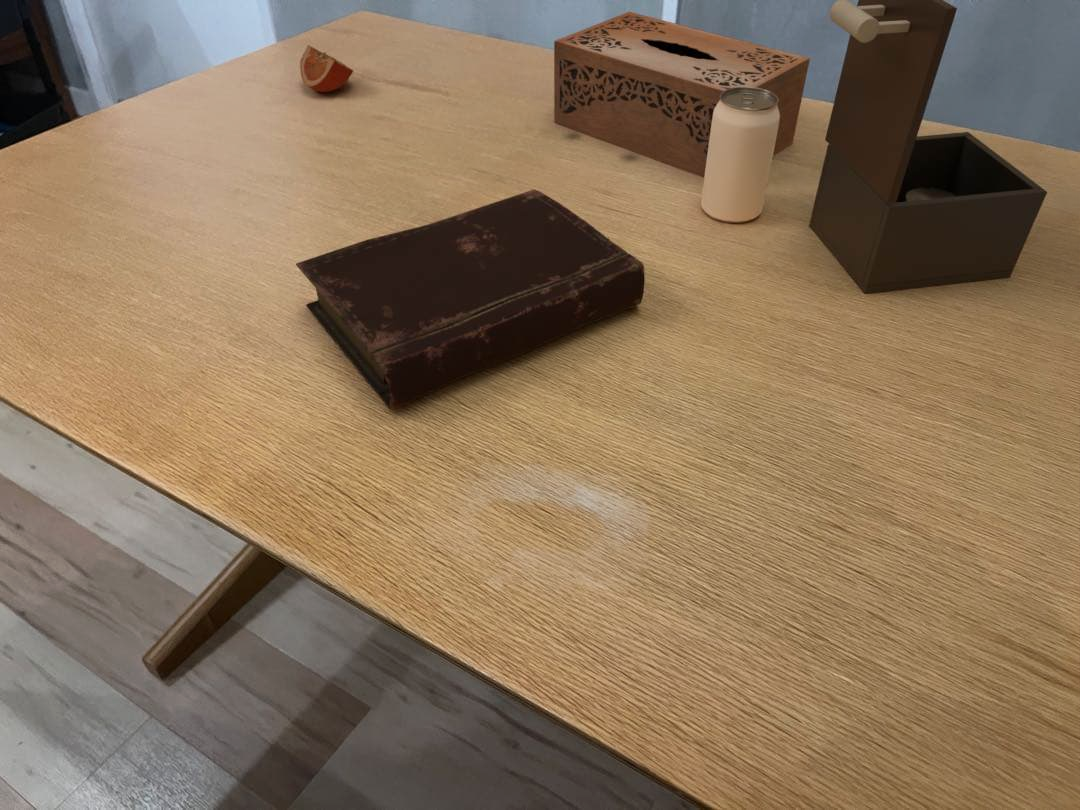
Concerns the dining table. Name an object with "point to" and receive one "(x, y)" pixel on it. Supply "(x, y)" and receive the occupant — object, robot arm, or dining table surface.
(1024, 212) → the dark brown storage bin
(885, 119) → the lid
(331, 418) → the dining table surface
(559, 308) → the diary
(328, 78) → the fruit slice
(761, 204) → the can
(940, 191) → the cylinder
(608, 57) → the tissue box cover
